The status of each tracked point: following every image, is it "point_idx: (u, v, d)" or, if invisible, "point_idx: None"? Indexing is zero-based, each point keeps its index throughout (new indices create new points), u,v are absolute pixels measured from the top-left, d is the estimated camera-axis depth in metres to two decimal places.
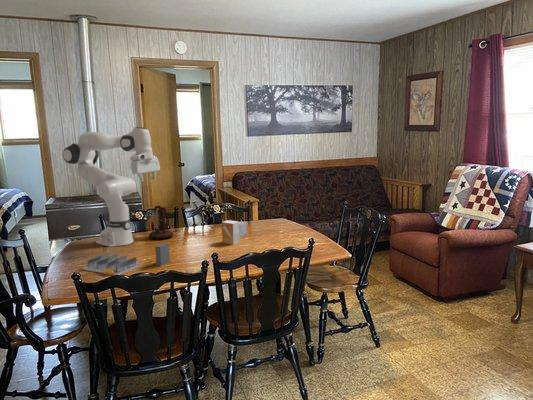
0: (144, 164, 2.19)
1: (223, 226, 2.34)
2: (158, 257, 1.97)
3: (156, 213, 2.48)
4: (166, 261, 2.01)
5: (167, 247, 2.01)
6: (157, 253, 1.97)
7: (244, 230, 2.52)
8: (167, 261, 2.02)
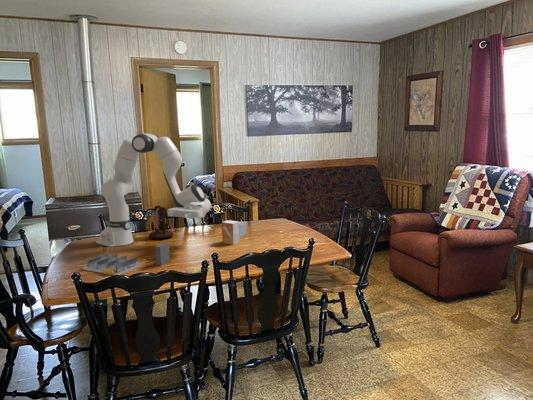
0: None
1: (223, 226, 2.34)
2: (158, 257, 1.97)
3: (156, 213, 2.48)
4: (166, 261, 2.01)
5: (167, 247, 2.01)
6: (157, 253, 1.97)
7: (244, 230, 2.52)
8: (167, 261, 2.02)
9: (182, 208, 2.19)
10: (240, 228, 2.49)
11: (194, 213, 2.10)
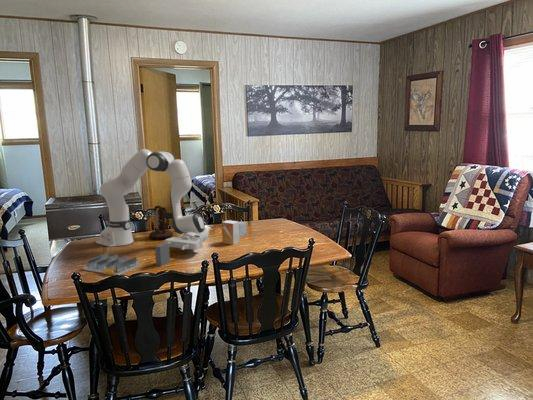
0: None
1: (223, 226, 2.34)
2: (158, 257, 1.97)
3: (156, 213, 2.48)
4: (166, 261, 2.01)
5: (167, 247, 2.01)
6: (157, 253, 1.97)
7: (244, 230, 2.52)
8: (167, 261, 2.02)
9: (179, 238, 2.19)
10: (240, 228, 2.49)
11: (191, 245, 2.10)
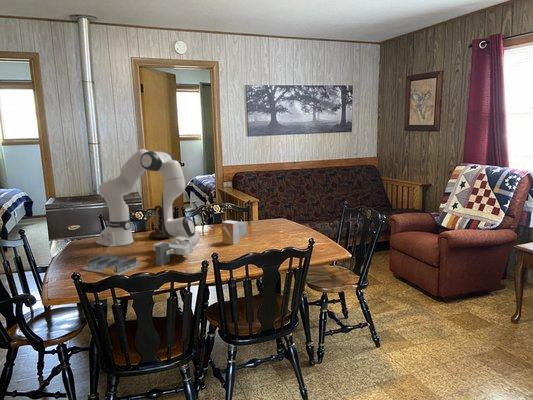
0: None
1: (223, 226, 2.34)
2: (158, 257, 1.97)
3: (156, 213, 2.48)
4: (166, 261, 2.01)
5: (167, 247, 2.01)
6: (157, 253, 1.97)
7: (244, 230, 2.52)
8: (167, 261, 2.02)
9: None
10: (240, 228, 2.49)
11: (180, 250, 2.01)
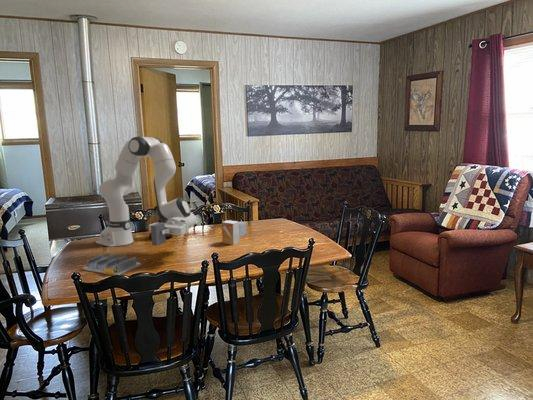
0: None
1: (223, 226, 2.34)
2: (153, 236, 1.95)
3: (156, 213, 2.48)
4: (162, 241, 1.99)
5: (163, 227, 1.99)
6: (153, 232, 1.95)
7: (244, 230, 2.52)
8: (163, 241, 2.00)
9: None
10: (240, 228, 2.49)
11: (176, 229, 1.98)
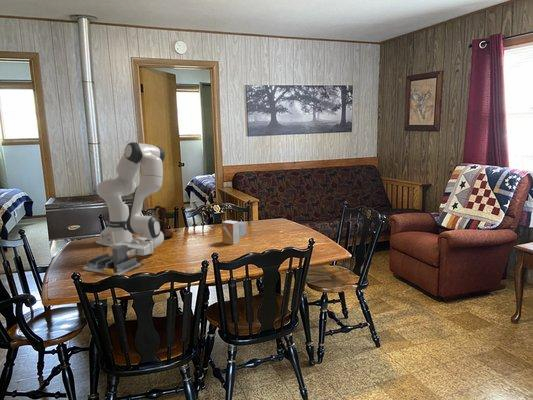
0: None
1: (223, 226, 2.34)
2: (115, 260, 1.90)
3: (156, 213, 2.48)
4: None
5: (125, 249, 1.94)
6: (114, 255, 1.90)
7: (244, 230, 2.52)
8: None
9: (129, 243, 2.02)
10: (240, 228, 2.49)
11: (139, 250, 1.93)
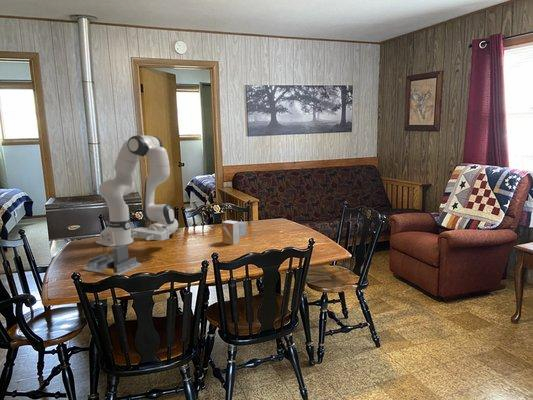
0: None
1: (223, 226, 2.34)
2: (115, 260, 1.90)
3: None
4: None
5: (126, 249, 1.94)
6: (114, 256, 1.90)
7: (244, 230, 2.52)
8: None
9: (146, 229, 2.15)
10: (240, 228, 2.49)
11: (157, 235, 2.06)
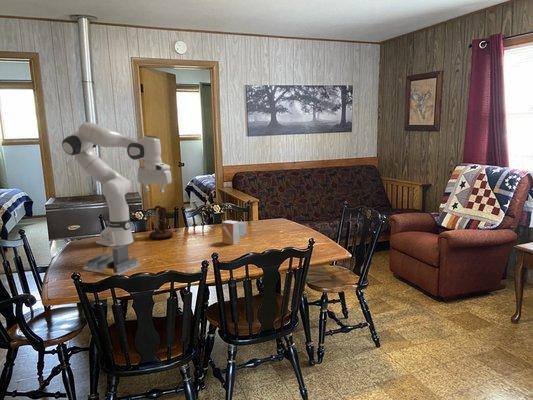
0: None
1: (223, 226, 2.34)
2: (115, 260, 1.90)
3: (156, 213, 2.48)
4: None
5: (126, 249, 1.94)
6: (114, 256, 1.90)
7: (244, 230, 2.52)
8: None
9: (146, 173, 2.11)
10: (240, 228, 2.49)
11: (165, 184, 2.09)
